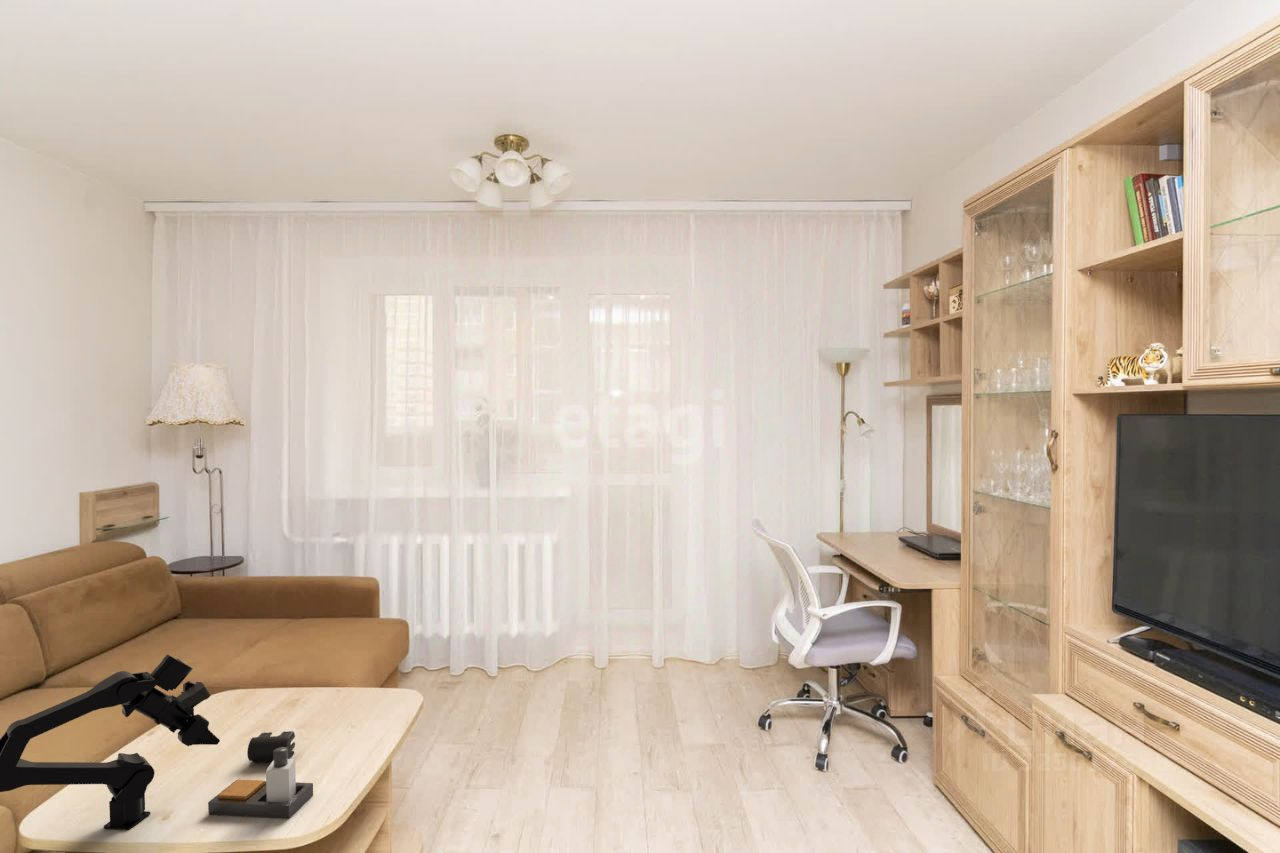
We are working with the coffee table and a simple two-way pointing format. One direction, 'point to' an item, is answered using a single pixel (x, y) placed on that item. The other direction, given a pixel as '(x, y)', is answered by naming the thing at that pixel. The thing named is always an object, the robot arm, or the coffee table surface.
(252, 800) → the two-compartment sponge tray
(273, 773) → the white soap bottle
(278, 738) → the end cap
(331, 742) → the coffee table surface
